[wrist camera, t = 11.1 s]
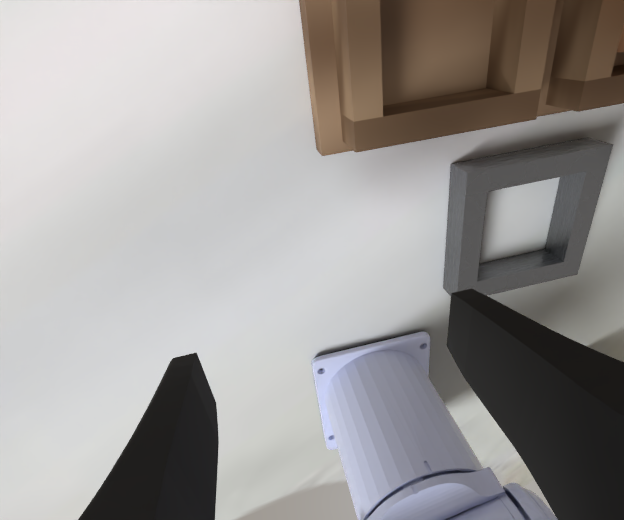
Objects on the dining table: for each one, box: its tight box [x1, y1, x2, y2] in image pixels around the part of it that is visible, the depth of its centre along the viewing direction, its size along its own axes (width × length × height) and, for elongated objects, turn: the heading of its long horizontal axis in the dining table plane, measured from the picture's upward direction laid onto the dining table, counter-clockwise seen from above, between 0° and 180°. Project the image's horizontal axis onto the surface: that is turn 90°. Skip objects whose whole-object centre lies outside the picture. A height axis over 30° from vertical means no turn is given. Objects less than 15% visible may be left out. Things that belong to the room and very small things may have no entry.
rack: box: [299, 0, 624, 156], centre depth 16 cm, size 9×20×3 cm, turn 97°
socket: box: [443, 138, 613, 296], centre depth 22 cm, size 8×8×2 cm
